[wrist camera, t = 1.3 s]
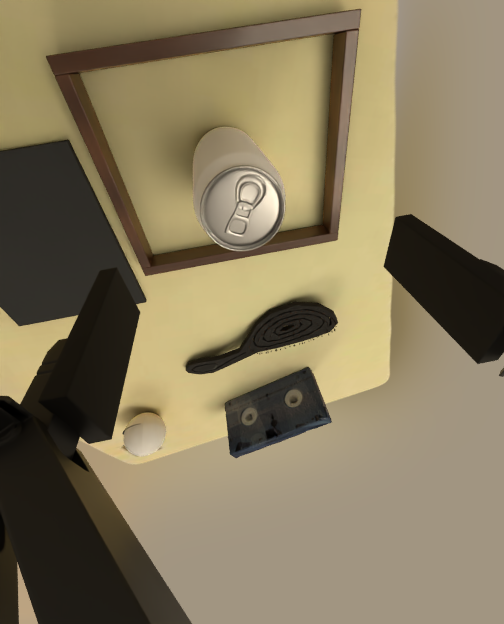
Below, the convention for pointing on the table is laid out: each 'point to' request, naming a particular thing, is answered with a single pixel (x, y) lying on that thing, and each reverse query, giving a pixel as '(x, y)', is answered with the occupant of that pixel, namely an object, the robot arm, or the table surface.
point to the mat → (52, 235)
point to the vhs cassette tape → (275, 413)
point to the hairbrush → (273, 334)
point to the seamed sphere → (144, 434)
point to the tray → (201, 43)
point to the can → (236, 190)
